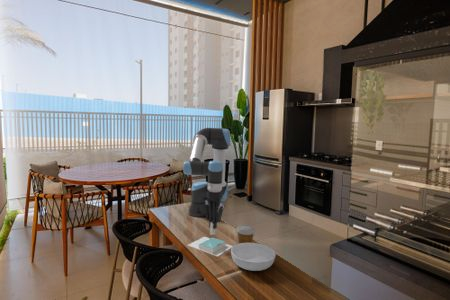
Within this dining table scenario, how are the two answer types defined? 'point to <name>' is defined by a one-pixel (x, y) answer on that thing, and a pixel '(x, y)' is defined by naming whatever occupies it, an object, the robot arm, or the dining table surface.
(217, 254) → the mat
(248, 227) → the disposable coffee cup
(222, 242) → the tile
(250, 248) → the serving bowl
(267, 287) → the dining table surface
